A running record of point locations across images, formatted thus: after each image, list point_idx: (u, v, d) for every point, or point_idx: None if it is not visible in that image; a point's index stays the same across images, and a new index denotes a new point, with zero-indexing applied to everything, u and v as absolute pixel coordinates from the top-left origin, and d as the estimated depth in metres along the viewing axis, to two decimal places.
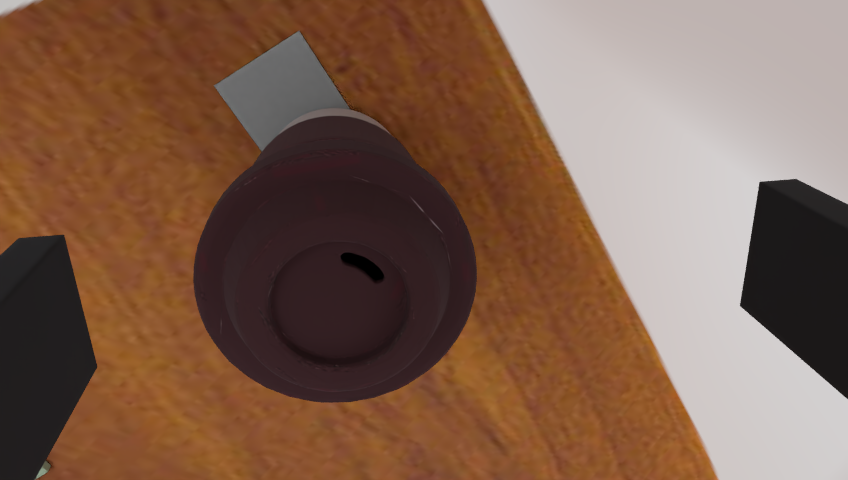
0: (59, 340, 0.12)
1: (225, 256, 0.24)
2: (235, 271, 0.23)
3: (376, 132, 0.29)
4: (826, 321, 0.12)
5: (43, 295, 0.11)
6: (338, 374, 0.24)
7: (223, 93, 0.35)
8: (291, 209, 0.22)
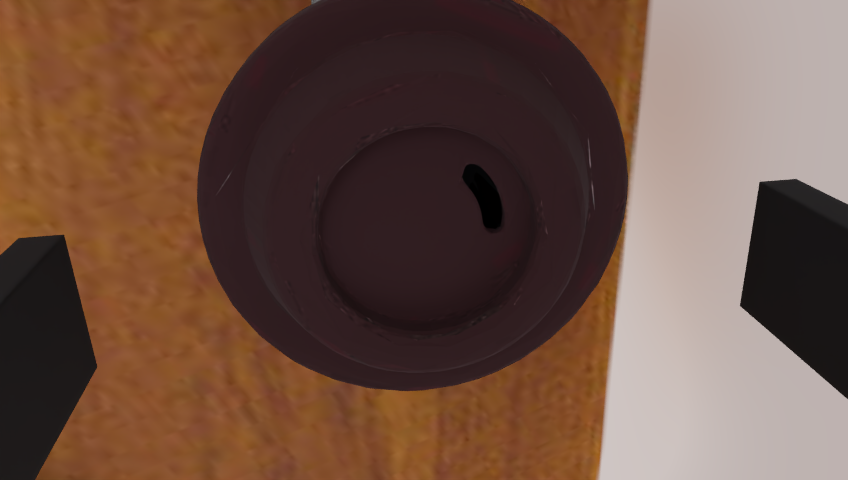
0: (59, 340, 0.12)
1: (295, 81, 0.14)
2: (310, 105, 0.14)
3: None
4: (826, 321, 0.12)
5: (42, 295, 0.11)
6: (365, 334, 0.15)
7: None
8: (445, 58, 0.14)
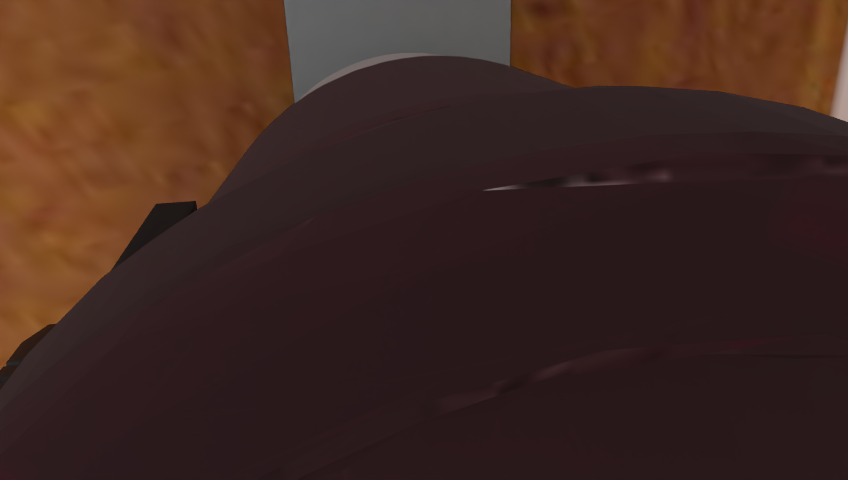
0: None
1: None
2: None
3: None
4: None
5: None
6: None
7: None
8: None
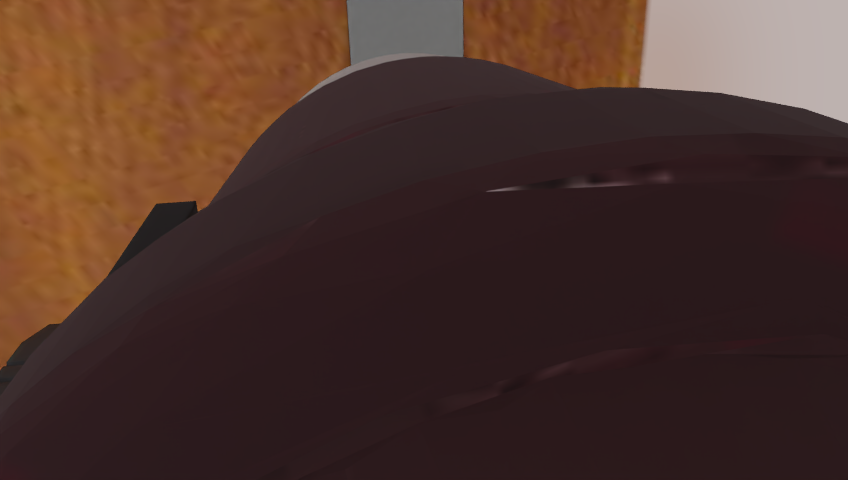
0: None
1: None
2: None
3: None
4: None
5: None
6: None
7: None
8: None
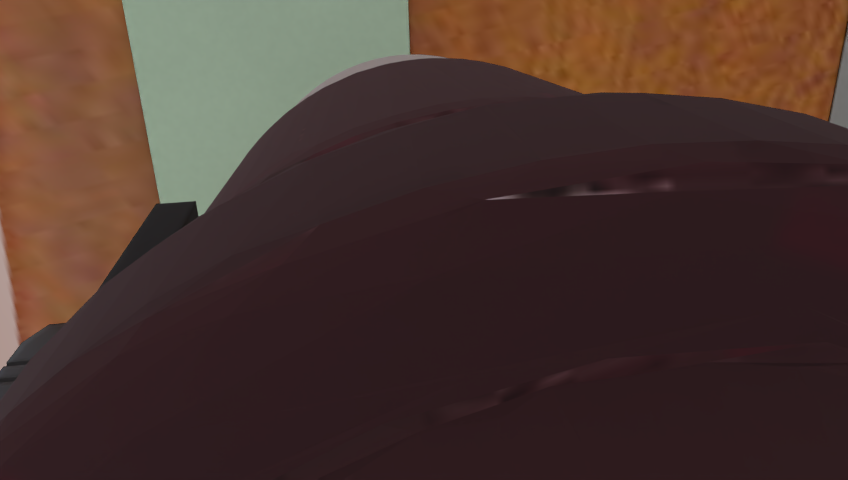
0: None
1: None
2: None
3: None
4: None
5: None
6: None
7: None
8: None
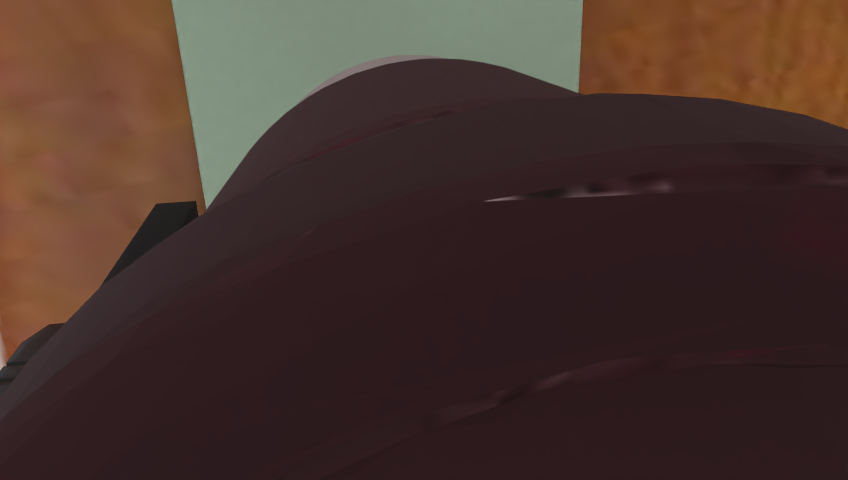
0: None
1: None
2: None
3: None
4: None
5: None
6: None
7: None
8: None
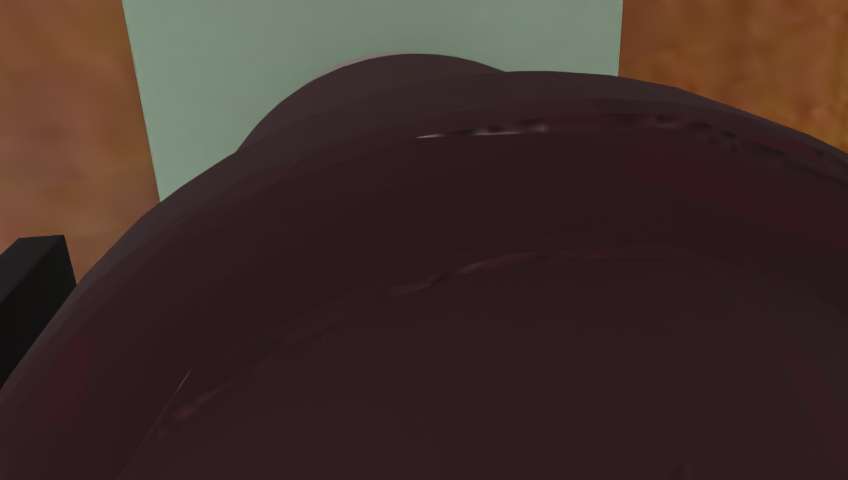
0: None
1: (189, 401, 0.05)
2: None
3: None
4: None
5: (43, 295, 0.11)
6: None
7: None
8: (683, 374, 0.04)
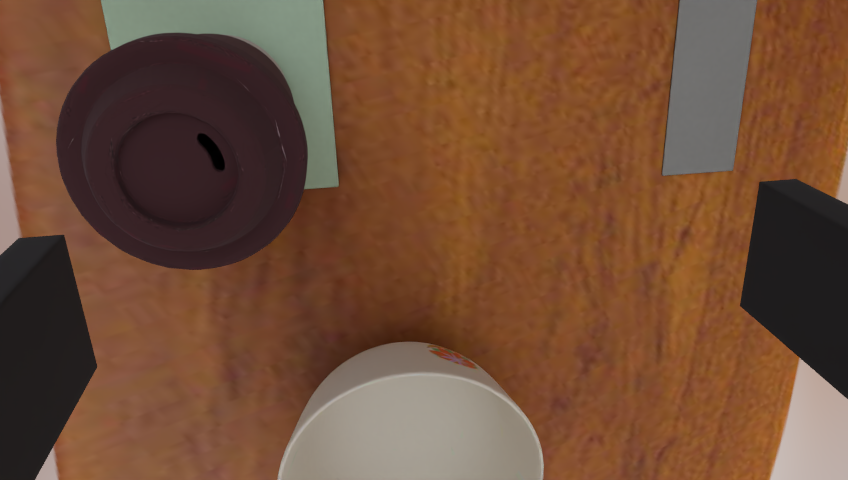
0: (59, 340, 0.12)
1: (104, 89, 0.27)
2: (107, 101, 0.26)
3: (276, 71, 0.34)
4: (826, 321, 0.12)
5: (43, 295, 0.11)
6: (148, 226, 0.28)
7: None
8: (177, 77, 0.27)
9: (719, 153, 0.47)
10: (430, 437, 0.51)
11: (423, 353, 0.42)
